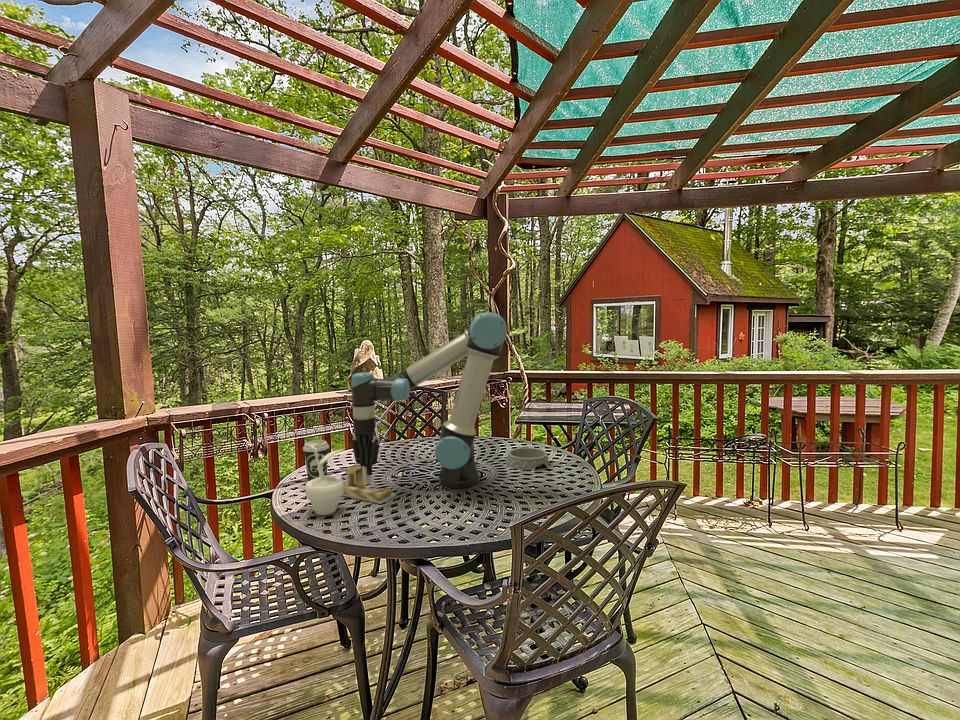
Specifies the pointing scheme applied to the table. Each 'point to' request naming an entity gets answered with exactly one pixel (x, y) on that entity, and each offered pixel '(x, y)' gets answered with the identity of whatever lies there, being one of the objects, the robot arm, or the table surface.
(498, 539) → the table surface
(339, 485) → the potted plant
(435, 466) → the table surface
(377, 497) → the beige flat bent piece
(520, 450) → the dog bowl
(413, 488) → the table surface
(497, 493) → the table surface
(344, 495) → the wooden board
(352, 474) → the sliding head
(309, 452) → the coffee cup
